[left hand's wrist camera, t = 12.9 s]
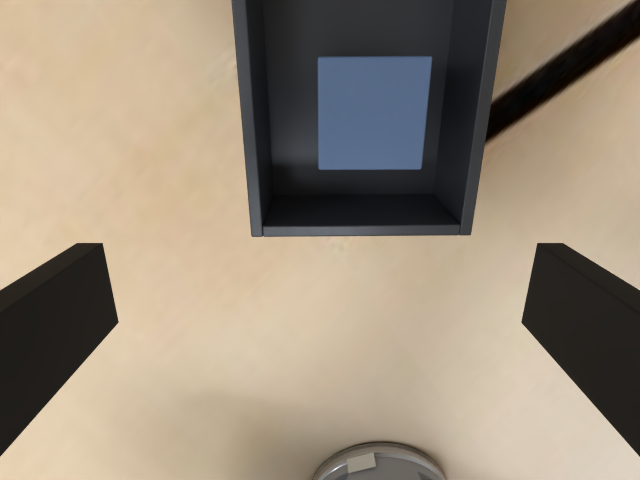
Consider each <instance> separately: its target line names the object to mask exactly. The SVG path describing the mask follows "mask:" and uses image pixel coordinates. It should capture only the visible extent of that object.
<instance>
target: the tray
mask: <svg viewBox="0 0 640 480" xmlns="http://www.w3.org/2000/svg"><path fill="white" fill-rule="evenodd" d="M506 1H507V0H232V11H233V23H234V35H235V47H236V59H237V71H238V82H239V94H240V106H241V118H242V130H243V142H244V153H245V165H246V177H247V189H248V201H249V213H250V225H251V236H252V237H262V236H264V237H281V236H415V235H471V230H472V224H473V217H474V210H475V204H476V197H477V191H478V184H479V178H480V171H481V165H482V158H483V152H484V145H485V139H486V132H487V125H488V119H489V112H490V106H491V99H492V93H493V86H494V80H495V73H496V67H497V60H498V54H499V47H500V40H501V34H502V27H503V21H504V14H505V8H506ZM334 56H431V57H432V66H431V76H430V87H429V97H428V107H427V117H426V127H425V138H424V148H423V158H422V168H421V169H419V170H320V169H319V168H318V57H334Z"/></svg>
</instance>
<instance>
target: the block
mask: <svg viewBox="0 0 640 480" xmlns="http://www.w3.org/2000/svg"><path fill="white" fill-rule="evenodd" d="M431 66H432V57H431V56H334V57H318V168H319V169H320V170H419V169H421V168H422V158H423V148H424V138H425V127H426V117H427V107H428V97H429V87H430V76H431Z"/></svg>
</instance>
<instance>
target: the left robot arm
mask: <svg viewBox="0 0 640 480" xmlns="http://www.w3.org/2000/svg"><path fill="white" fill-rule="evenodd" d="M117 324H118V317H117V312H116V307H115V302H114V298H113V293H112V288H111V283H110V278H109V273H108V268H107V263H106V258H105V253H104V248H103V243H77V244H75V245H73V246H72V247H70V248H68V249H67V250H65V251H64V252H62V253H60V254H59V255H57V256H55V257H54V258H52V259H51V260H49V261H47V262H46V263H44V264H42V265H41V266H39V267H38V268H36V269H34V270H33V271H31V272H29V273H28V274H26V275H25V276H23V277H21V278H20V279H18V280H16V281H15V282H13V283H12V284H10V285H8V286H7V287H5V288H3V289H2V290H0V456H1V455H2V454H3V453H4V452H5V451H6V449H7V448H8V447H9V446H10V445H11V444H12V443H13V441H14V440H15V439H16V438H17V437H18V436H19V435H20V434H21V432H22V431H23V430H24V429H25V428H26V427H27V426H28V424H29V423H30V422H31V421H32V420H33V419H34V418H35V417H36V415H37V414H38V413H39V412H40V411H41V410H42V409H43V407H44V406H45V405H46V404H47V403H48V402H49V401H50V400H51V398H52V397H53V396H54V395H55V394H56V393H57V392H58V390H59V389H60V388H61V387H62V386H63V385H64V384H65V383H66V381H67V380H68V379H69V378H70V377H71V376H72V375H73V373H74V372H75V371H76V370H77V369H78V368H79V367H80V366H81V364H82V363H83V362H84V361H85V360H86V359H87V358H88V356H89V355H90V354H91V353H92V352H93V351H94V350H95V349H96V347H97V346H98V345H99V344H100V343H101V342H102V341H103V339H104V338H105V337H106V336H107V335H108V334H109V333H110V331H111V330H112V329H113V328H114V327H115V326H116V325H117ZM522 324H523V325H524V326H525V327H526V328H527V329H528V330H529V331H530V333H531V334H532V335H533V336H534V337H535V338H536V339H537V341H538V342H539V343H540V344H541V345H542V346H543V347H544V349H545V350H546V351H547V352H548V353H549V354H550V355H551V356H552V358H553V359H554V360H555V361H556V362H557V363H558V364H559V366H560V367H561V368H562V369H563V370H564V371H565V372H566V373H567V375H568V376H569V377H570V378H571V379H572V380H573V381H574V383H575V384H576V385H577V386H578V387H579V388H580V389H581V390H582V392H583V393H584V394H585V395H586V396H587V397H588V398H589V400H590V401H591V402H592V403H593V404H594V405H595V406H596V407H597V409H598V410H599V411H600V412H601V413H602V414H603V415H604V417H605V418H606V419H607V420H608V421H609V422H610V423H611V424H612V426H613V427H614V428H615V429H616V430H617V431H618V432H619V434H620V435H621V436H622V437H623V438H624V439H625V440H626V441H627V443H628V444H629V445H630V446H631V447H632V448H633V449H634V451H635V452H636V453H637V454H638V455H639V456H640V290H638V289H637V288H635V287H633V286H632V285H630V284H628V283H627V282H625V281H624V280H622V279H620V278H619V277H617V276H615V275H614V274H612V273H611V272H609V271H607V270H606V269H604V268H602V267H601V266H599V265H598V264H596V263H594V262H593V261H591V260H589V259H588V258H586V257H585V256H583V255H581V254H580V253H578V252H576V251H575V250H573V249H572V248H570V247H568V246H567V245H565V244H563V243H537V248H536V253H535V258H534V263H533V268H532V273H531V278H530V283H529V288H528V293H527V297H526V302H525V307H524V312H523V317H522ZM312 480H445V477H444V474H443V472H442V471H441V469H440V468H439V466H438V465H437V464H436V463H435V462H434V461H433V460H432V459H431V458H430V457H428V456H427V455H426V454H424V453H422V452H420V451H418V450H416V449H414V448H411V447H408V446H404V445H400V444H394V443H369V444H362V445H358V446H354V447H351V448H348V449H346V450H343V451H341V452H339V453H337V454H335V455H334V456H332V457H331V458H329V459H328V460H327V461H326V462H324V463H323V464H322V465H321V466H320V468H319V469H318V470H317V472H316V473H315V475H314V477H313V479H312Z"/></svg>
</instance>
